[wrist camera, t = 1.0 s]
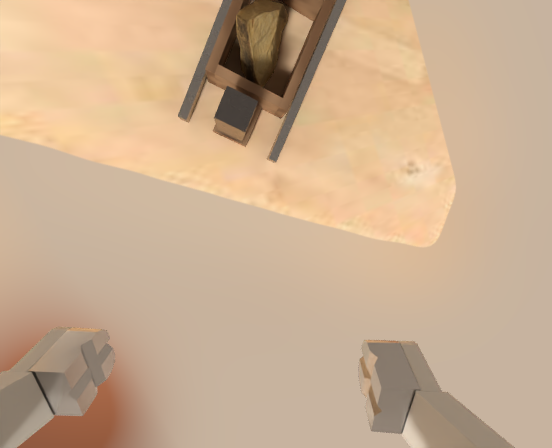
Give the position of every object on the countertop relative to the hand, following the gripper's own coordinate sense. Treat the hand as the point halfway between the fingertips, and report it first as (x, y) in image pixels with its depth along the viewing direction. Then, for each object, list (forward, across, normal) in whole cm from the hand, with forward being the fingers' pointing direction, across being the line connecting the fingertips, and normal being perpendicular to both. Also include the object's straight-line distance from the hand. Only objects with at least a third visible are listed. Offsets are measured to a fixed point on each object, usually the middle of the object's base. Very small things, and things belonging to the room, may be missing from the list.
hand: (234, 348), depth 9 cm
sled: (+39, +3, -11) cm, 41 cm away
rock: (+41, +2, -13) cm, 43 cm away
